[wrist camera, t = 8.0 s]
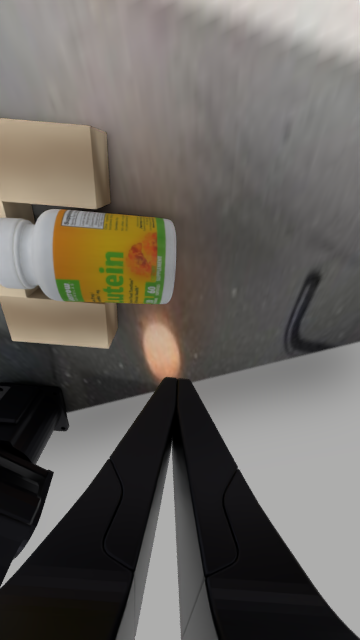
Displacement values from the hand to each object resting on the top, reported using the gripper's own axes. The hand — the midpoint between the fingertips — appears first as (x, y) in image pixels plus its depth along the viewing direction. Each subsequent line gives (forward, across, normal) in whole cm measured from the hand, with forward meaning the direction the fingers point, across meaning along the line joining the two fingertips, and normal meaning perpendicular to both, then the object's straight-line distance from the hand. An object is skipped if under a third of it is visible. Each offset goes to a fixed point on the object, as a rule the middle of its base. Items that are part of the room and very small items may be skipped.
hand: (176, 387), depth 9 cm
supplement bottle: (+10, +1, -1) cm, 10 cm away
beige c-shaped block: (+13, +9, -1) cm, 16 cm away
